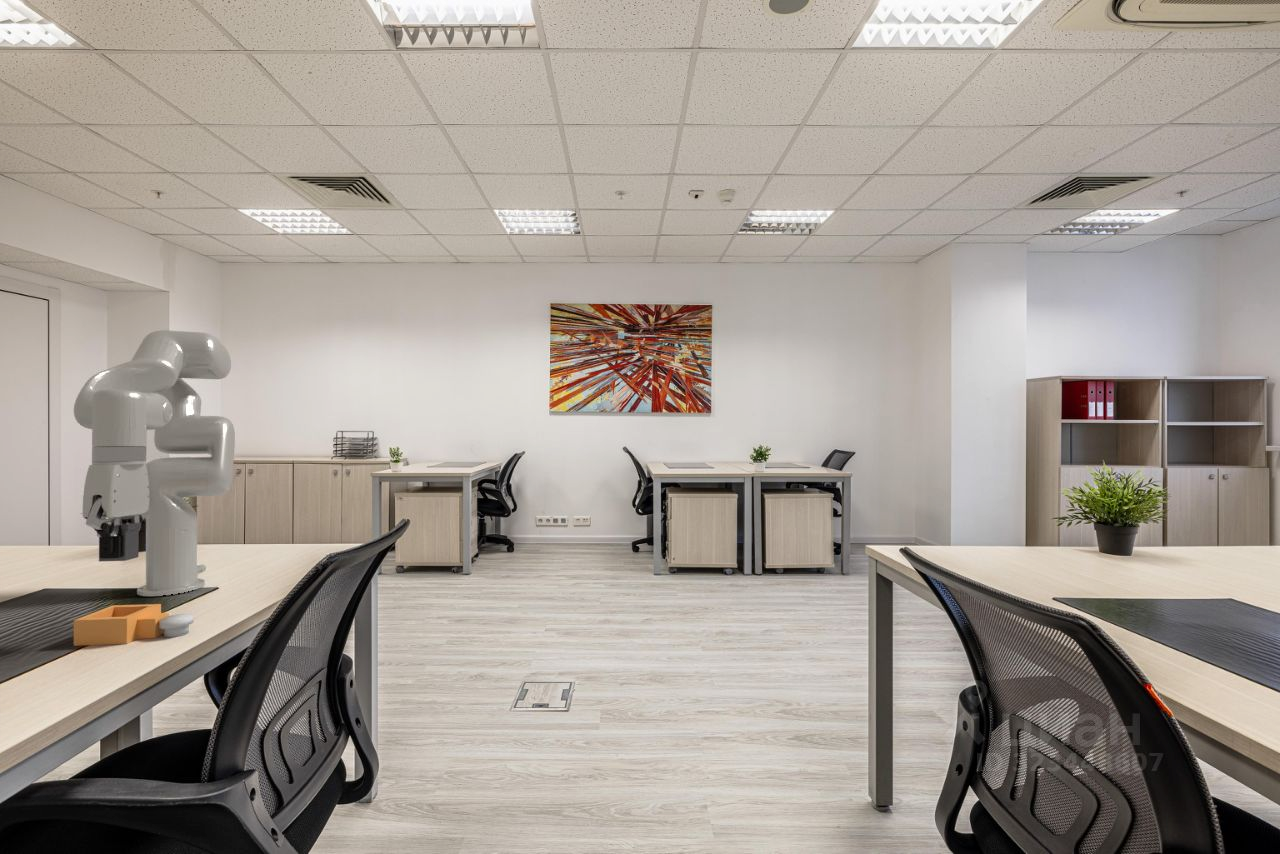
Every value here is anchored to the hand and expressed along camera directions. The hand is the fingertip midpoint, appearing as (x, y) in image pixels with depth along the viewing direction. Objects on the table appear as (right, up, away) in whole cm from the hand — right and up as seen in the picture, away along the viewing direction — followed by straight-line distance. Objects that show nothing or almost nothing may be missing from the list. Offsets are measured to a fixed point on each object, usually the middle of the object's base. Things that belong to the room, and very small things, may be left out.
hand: (118, 554), depth 107 cm
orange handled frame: (+4, -15, +1) cm, 16 cm away
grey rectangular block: (0, -1, 0) cm, 1 cm away
